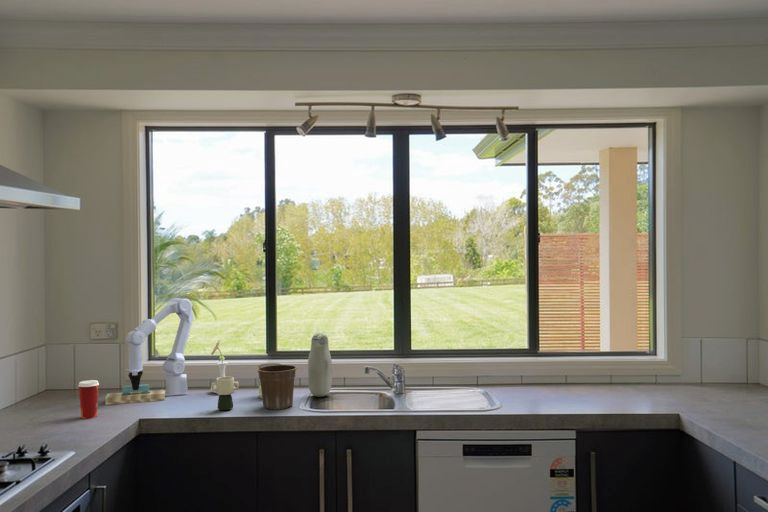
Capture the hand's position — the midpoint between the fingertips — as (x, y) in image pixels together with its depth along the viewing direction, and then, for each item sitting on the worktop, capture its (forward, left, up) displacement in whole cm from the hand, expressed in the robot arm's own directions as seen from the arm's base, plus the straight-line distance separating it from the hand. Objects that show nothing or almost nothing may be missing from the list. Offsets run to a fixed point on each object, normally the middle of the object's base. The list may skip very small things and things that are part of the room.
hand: (135, 389), depth 284 cm
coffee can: (-57, +14, -5) cm, 59 cm away
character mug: (-36, +33, -5) cm, 49 cm away
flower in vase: (-37, -2, -5) cm, 37 cm away
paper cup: (+16, +26, -5) cm, 31 cm away
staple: (0, 0, -5) cm, 5 cm away
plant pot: (-57, +35, -5) cm, 67 cm away
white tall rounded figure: (-78, +22, -5) cm, 81 cm away
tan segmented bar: (0, 0, -5) cm, 5 cm away
